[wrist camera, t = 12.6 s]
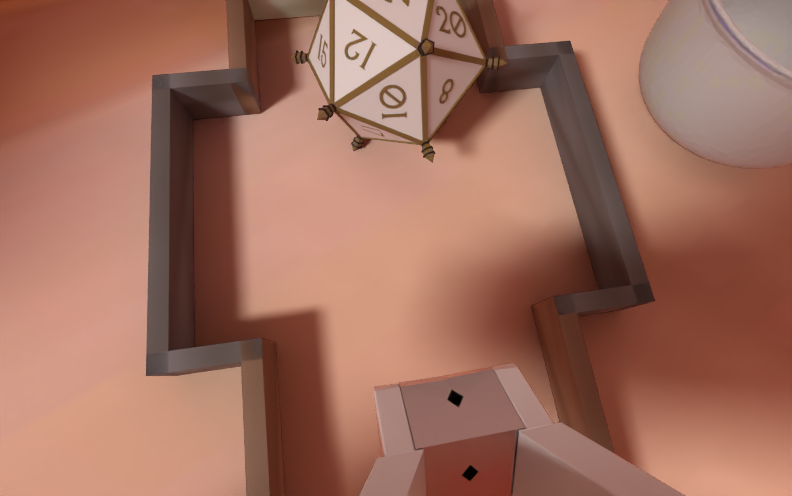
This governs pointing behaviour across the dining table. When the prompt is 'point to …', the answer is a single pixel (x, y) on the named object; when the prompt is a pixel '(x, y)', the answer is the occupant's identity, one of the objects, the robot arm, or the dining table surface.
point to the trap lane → (177, 354)
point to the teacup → (723, 79)
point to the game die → (394, 66)
